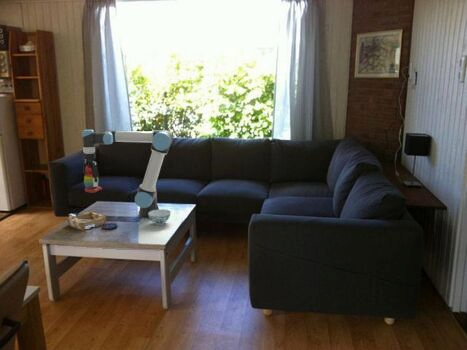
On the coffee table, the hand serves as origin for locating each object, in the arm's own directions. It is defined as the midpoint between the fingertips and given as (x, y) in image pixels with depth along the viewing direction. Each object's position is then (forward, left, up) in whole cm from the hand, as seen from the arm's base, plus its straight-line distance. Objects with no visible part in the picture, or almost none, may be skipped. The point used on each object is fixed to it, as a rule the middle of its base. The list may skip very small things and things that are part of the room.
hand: (91, 185), depth 284 cm
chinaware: (-39, -25, -26) cm, 54 cm away
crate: (-1, +7, -26) cm, 27 cm away
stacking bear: (0, 0, -4) cm, 4 cm away
